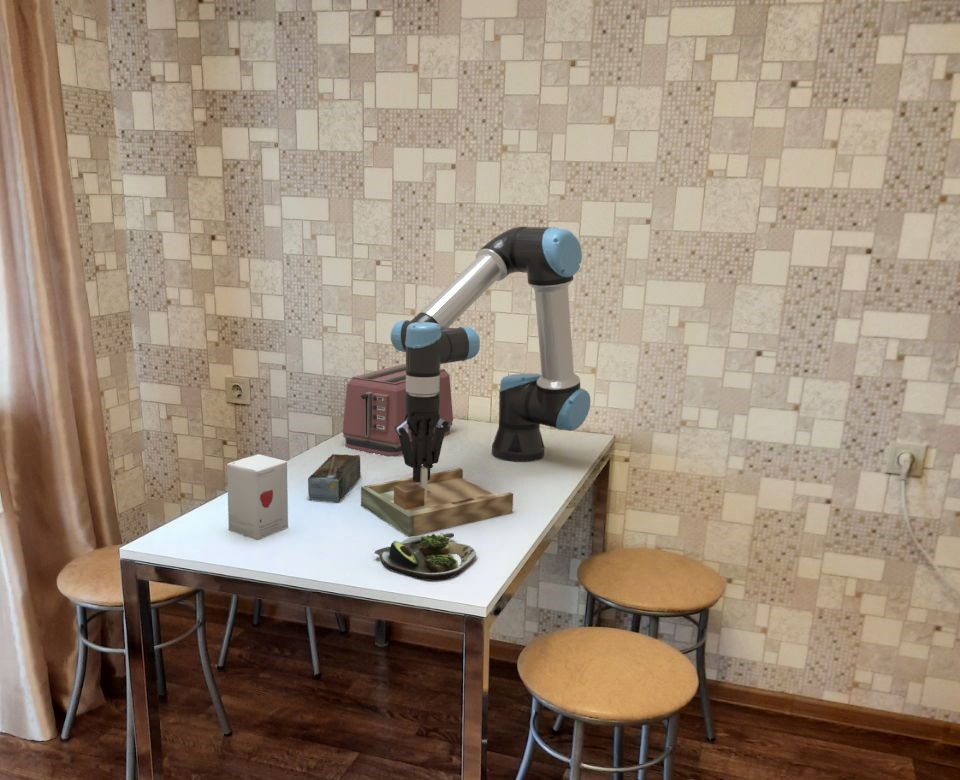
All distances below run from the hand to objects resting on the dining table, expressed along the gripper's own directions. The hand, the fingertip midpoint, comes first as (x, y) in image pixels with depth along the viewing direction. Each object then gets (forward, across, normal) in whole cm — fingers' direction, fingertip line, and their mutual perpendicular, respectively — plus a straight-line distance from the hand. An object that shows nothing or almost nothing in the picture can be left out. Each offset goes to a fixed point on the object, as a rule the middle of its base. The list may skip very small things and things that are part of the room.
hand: (421, 494), depth 183 cm
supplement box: (+4, +35, -9) cm, 36 cm away
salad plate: (+5, +13, +23) cm, 27 cm away
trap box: (+4, -3, 0) cm, 5 cm away
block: (+2, +3, 0) cm, 4 cm away
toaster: (+5, -25, -54) cm, 60 cm away
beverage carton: (+5, +10, -24) cm, 27 cm away
